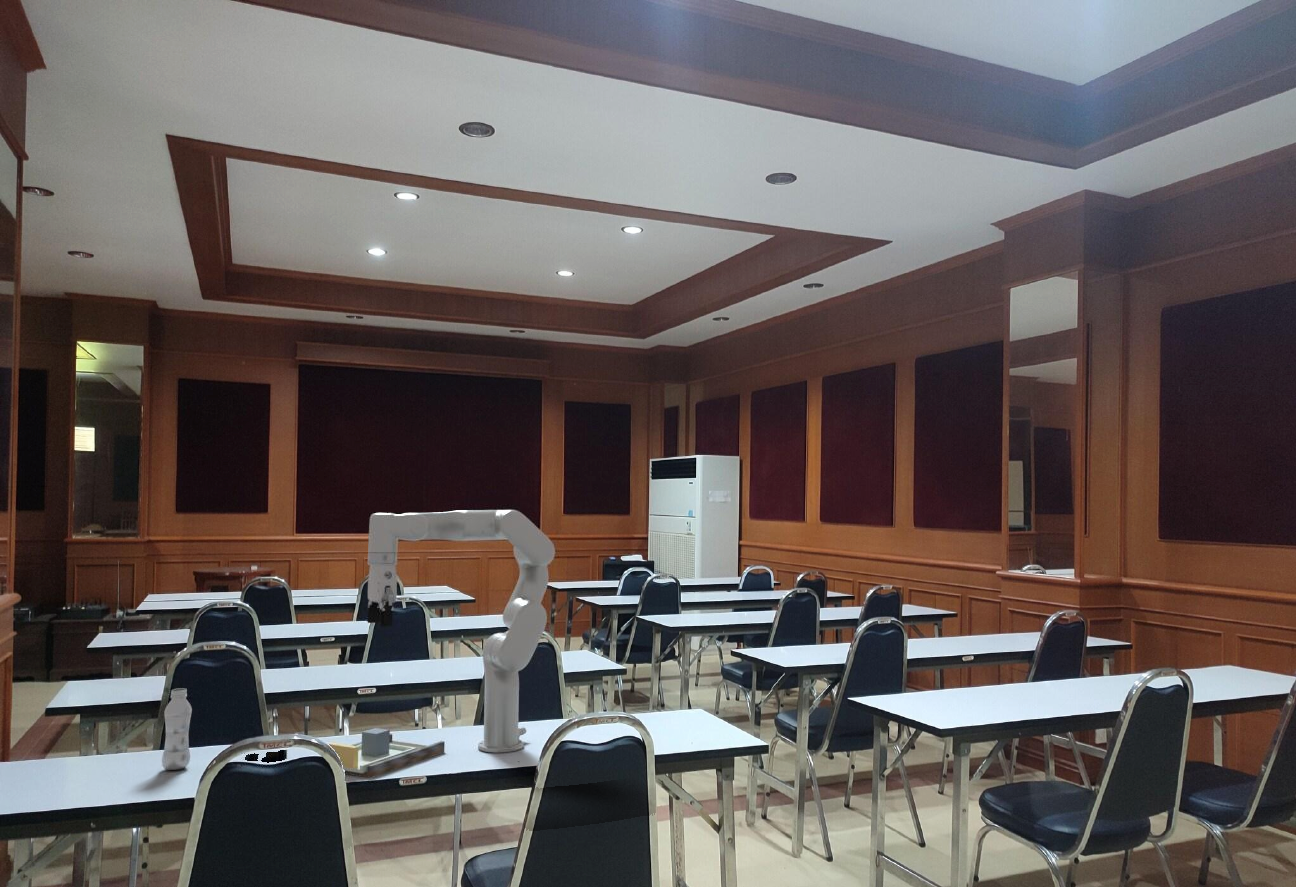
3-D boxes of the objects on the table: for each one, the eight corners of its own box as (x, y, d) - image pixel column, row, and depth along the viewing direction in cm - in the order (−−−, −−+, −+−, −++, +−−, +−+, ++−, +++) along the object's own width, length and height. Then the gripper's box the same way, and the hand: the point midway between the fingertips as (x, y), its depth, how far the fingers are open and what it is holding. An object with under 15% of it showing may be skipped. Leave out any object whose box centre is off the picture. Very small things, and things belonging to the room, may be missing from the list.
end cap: (285, 764, 238) (286, 738, 238) (287, 771, 231) (288, 744, 232) (243, 769, 234) (244, 742, 234) (244, 776, 227) (245, 748, 228)
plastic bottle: (158, 773, 229) (161, 692, 231) (164, 766, 236) (168, 687, 237) (186, 771, 231) (189, 691, 232) (192, 764, 237) (195, 686, 239)
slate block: (375, 750, 244) (375, 727, 245) (389, 752, 242) (389, 729, 243) (361, 754, 240) (362, 731, 240) (375, 757, 238) (376, 733, 238)
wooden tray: (371, 747, 251) (372, 726, 251) (416, 754, 244) (417, 732, 244) (315, 765, 233) (315, 742, 233) (362, 773, 226) (362, 749, 226)
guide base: (388, 743, 260) (389, 733, 260) (444, 751, 251) (444, 741, 251) (312, 767, 235) (312, 756, 235) (371, 777, 226) (371, 766, 226)
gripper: (407, 560, 238) (404, 627, 236) (385, 558, 252) (382, 620, 250) (379, 560, 233) (376, 628, 232) (358, 558, 248) (355, 621, 246)
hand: (379, 624), depth 241 cm, fingers open, 9 cm apart
